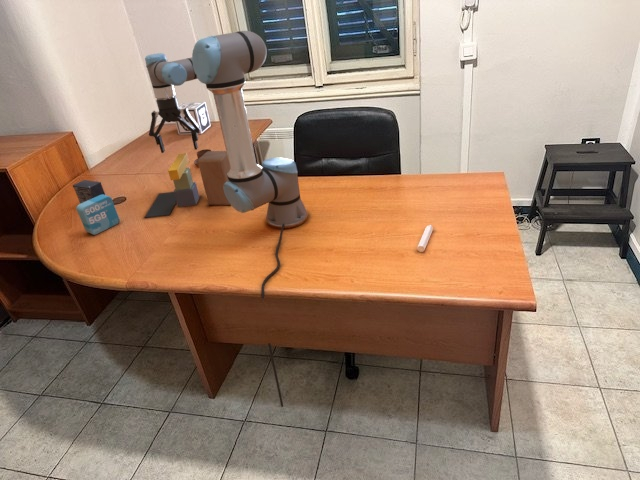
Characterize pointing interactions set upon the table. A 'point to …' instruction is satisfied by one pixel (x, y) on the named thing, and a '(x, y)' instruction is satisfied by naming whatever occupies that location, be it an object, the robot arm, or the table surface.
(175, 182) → the tower
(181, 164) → the bar
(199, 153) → the cup and saucer
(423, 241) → the marker
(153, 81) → the robot arm
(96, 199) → the data package
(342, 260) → the table surface
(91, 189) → the small box
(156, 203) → the mat
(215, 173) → the block
